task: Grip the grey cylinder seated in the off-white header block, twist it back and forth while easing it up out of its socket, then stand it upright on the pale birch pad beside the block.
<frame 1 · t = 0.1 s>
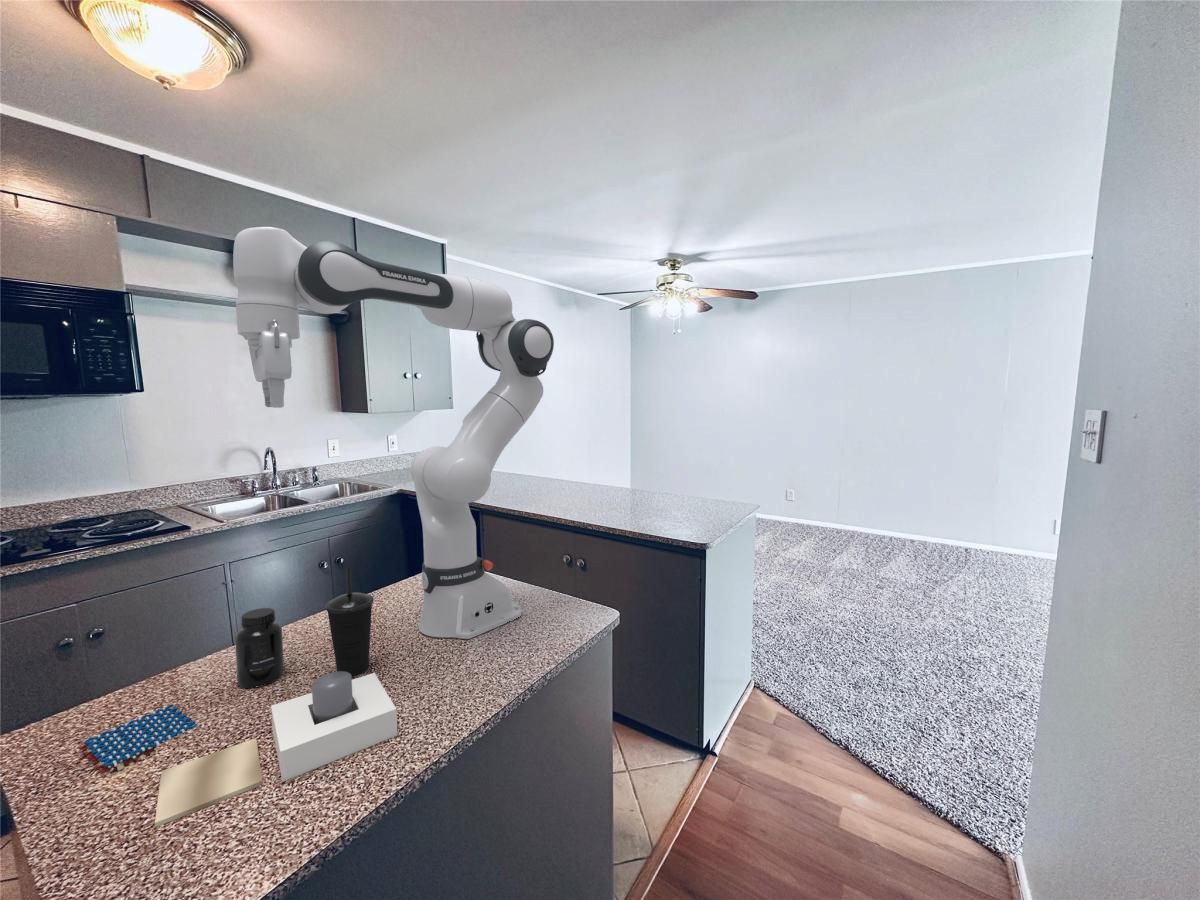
hand: (274, 407, 85), 48 cm above the counter, tool pointing down, fingers open, 8 cm apart
grey cylinder: (334, 733, 71), point 1 cm above the counter, touching header
header: (335, 739, 71), on the counter
drinking cup: (353, 675, 88), on the counter
supplement bottle: (261, 679, 87), on the counter
pad: (212, 786, 62), on the counter
woven mat: (141, 746, 71), on the counter
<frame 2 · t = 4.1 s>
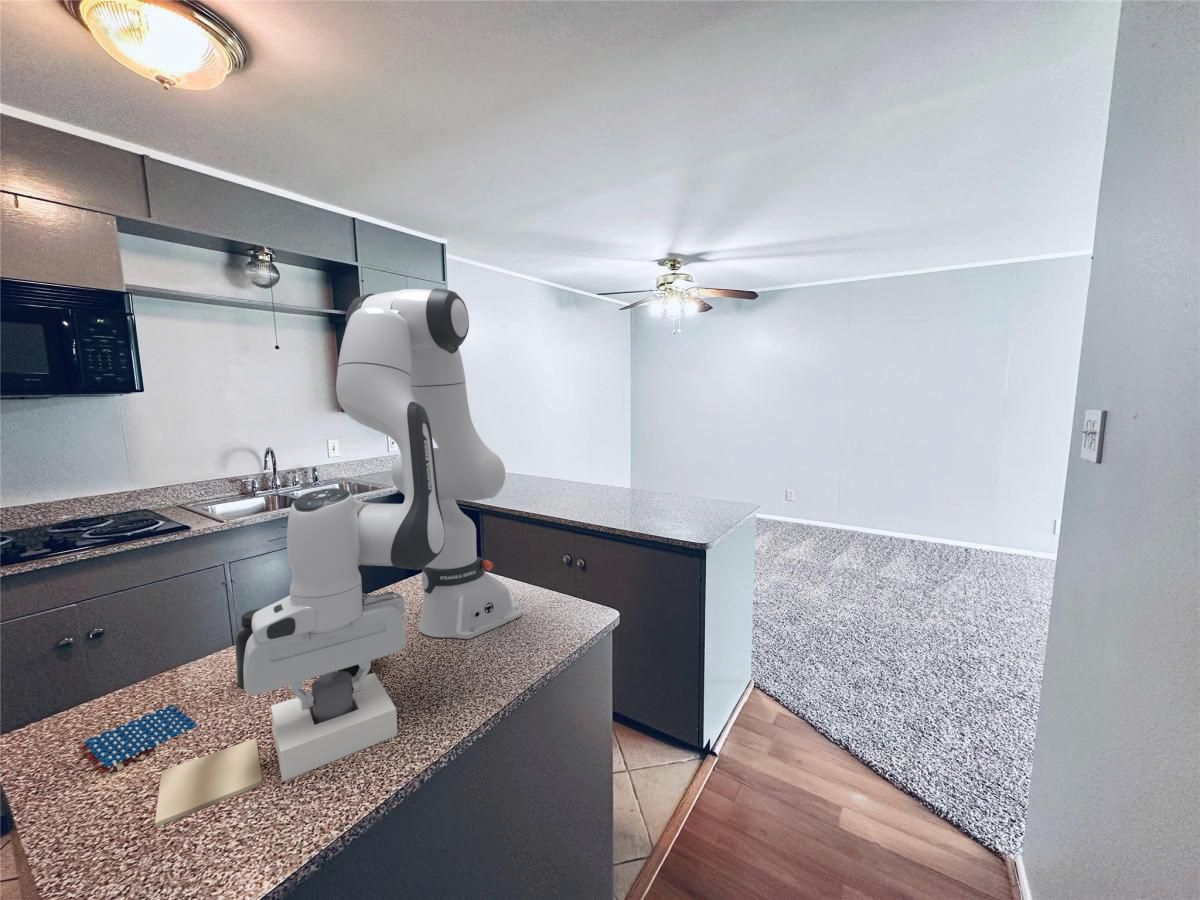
hand: (332, 698, 70), 6 cm above the counter, tool pointing down, fingers closed on grey cylinder, 5 cm apart
grey cylinder: (334, 733, 71), point 1 cm above the counter, touching gripper, header
everything else where it was.
when the fingers open (8 cm above the counter, at t = 11.9 s): grey cylinder drops 1 cm, resting on pad.
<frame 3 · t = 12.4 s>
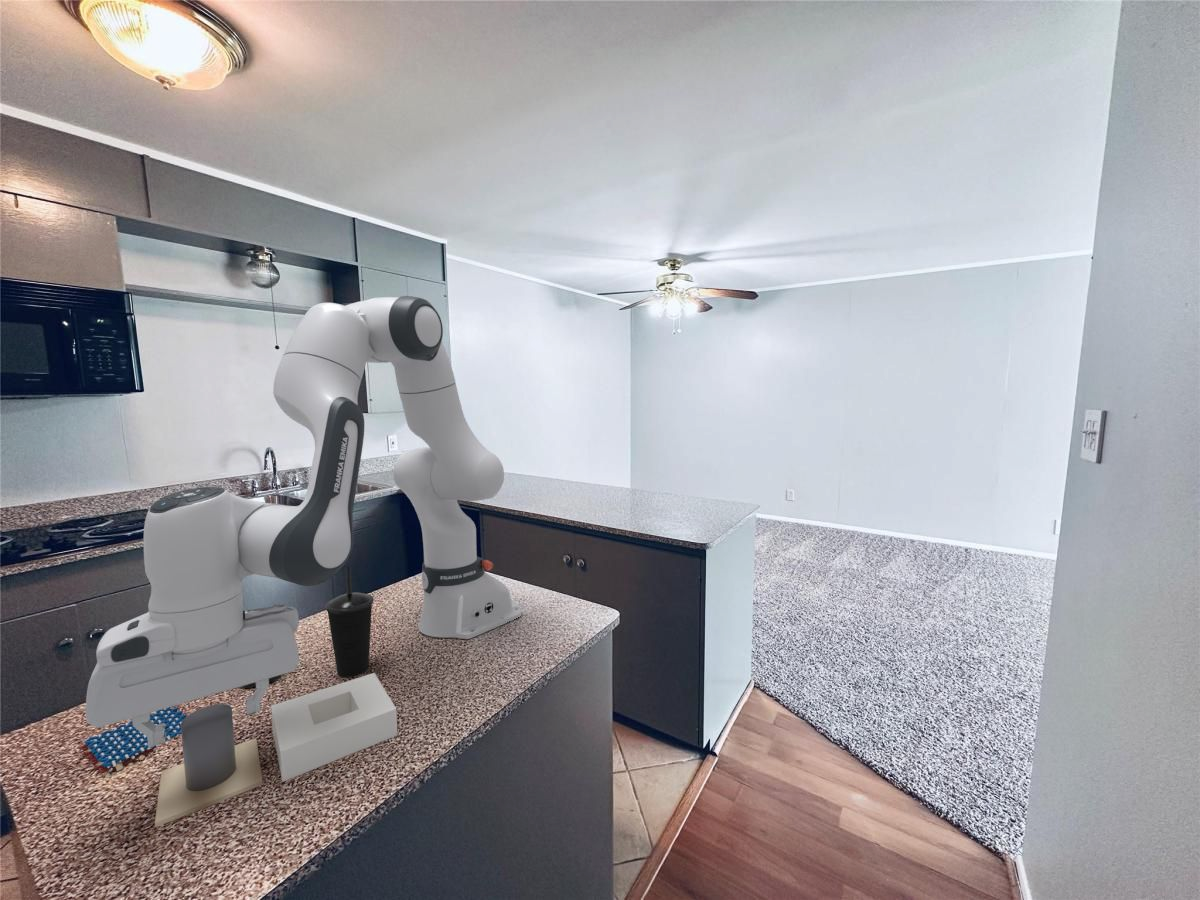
hand: (207, 726, 61), 8 cm above the counter, tool pointing down, fingers open, 8 cm apart
grey cylinder: (211, 775, 62), point 2 cm above the counter, touching pad
everything else where it was.
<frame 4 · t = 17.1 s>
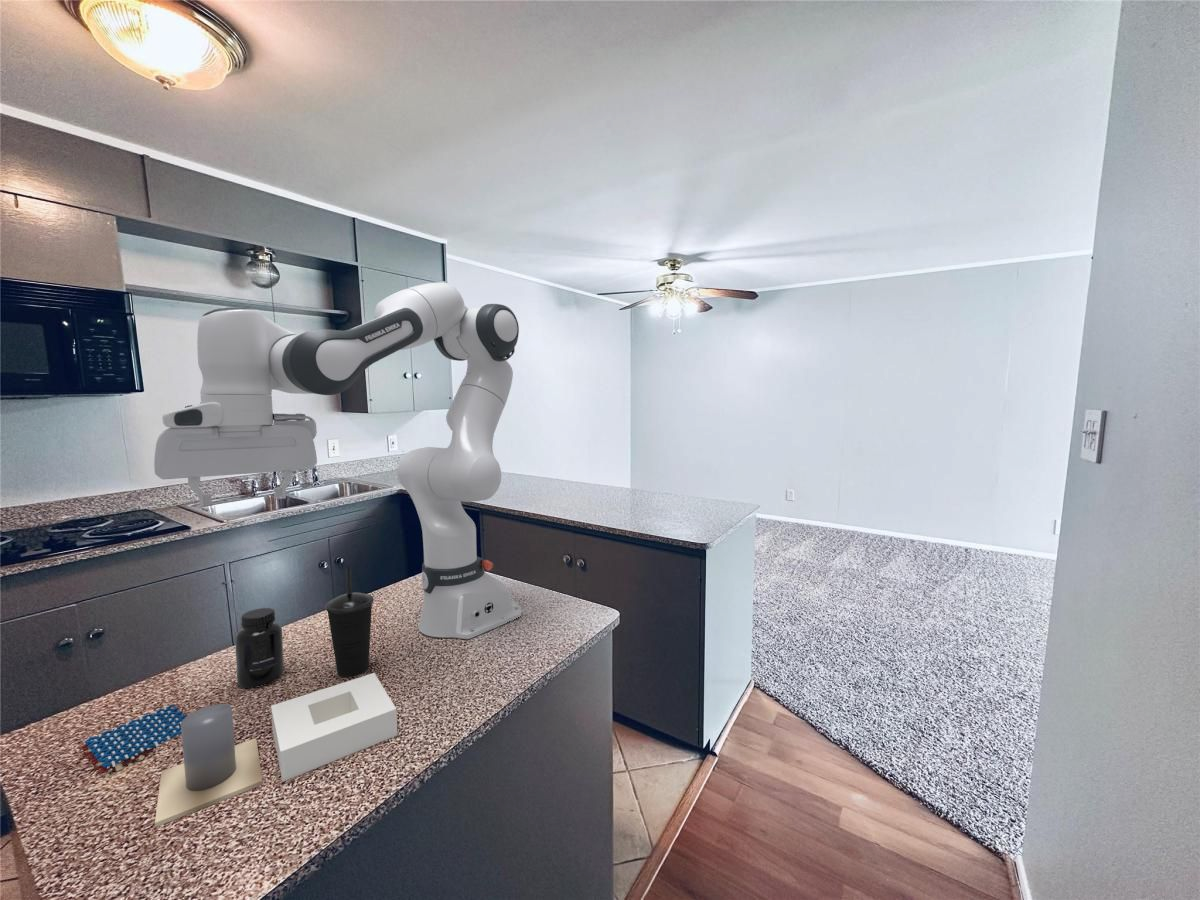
hand: (244, 502, 77), 33 cm above the counter, tool pointing down, fingers open, 8 cm apart
nothing on the counter moved.
at the end: grey cylinder inside the target area on the pad (0.0 cm from its centre), point 1.5 cm above the pad's base; grey cylinder tilted 0°; the gripper is holding nothing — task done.
